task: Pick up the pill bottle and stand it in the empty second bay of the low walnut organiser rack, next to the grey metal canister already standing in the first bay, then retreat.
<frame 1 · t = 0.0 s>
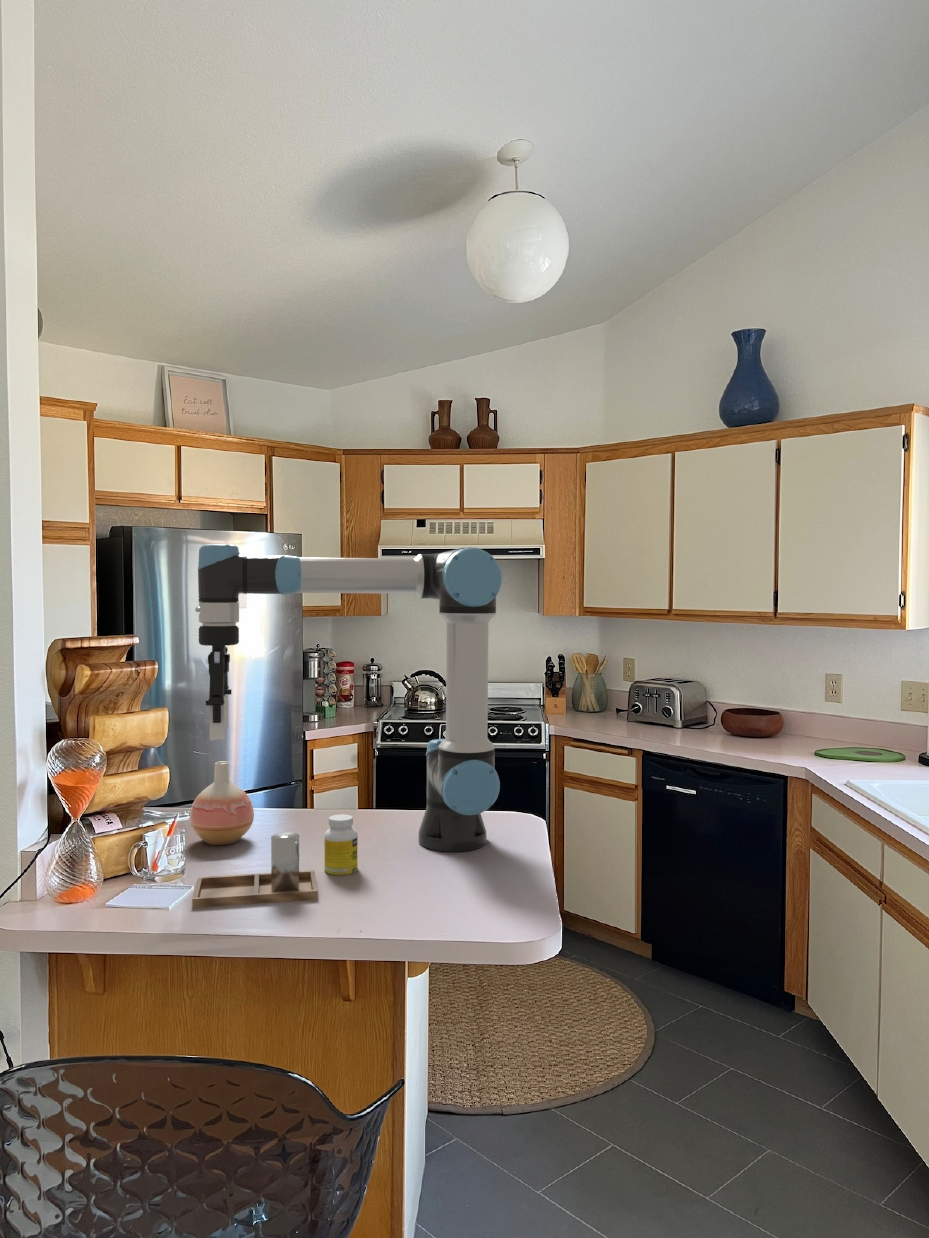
hand: (219, 733, 172), 28 cm above the countertop, fingers open, 13 cm apart
pill bottle: (340, 876, 174), on the countertop
vase: (222, 842, 196), on the countertop
canister: (285, 889, 162), point 1 cm above the countertop, touching rack
rack: (256, 898, 161), on the countertop
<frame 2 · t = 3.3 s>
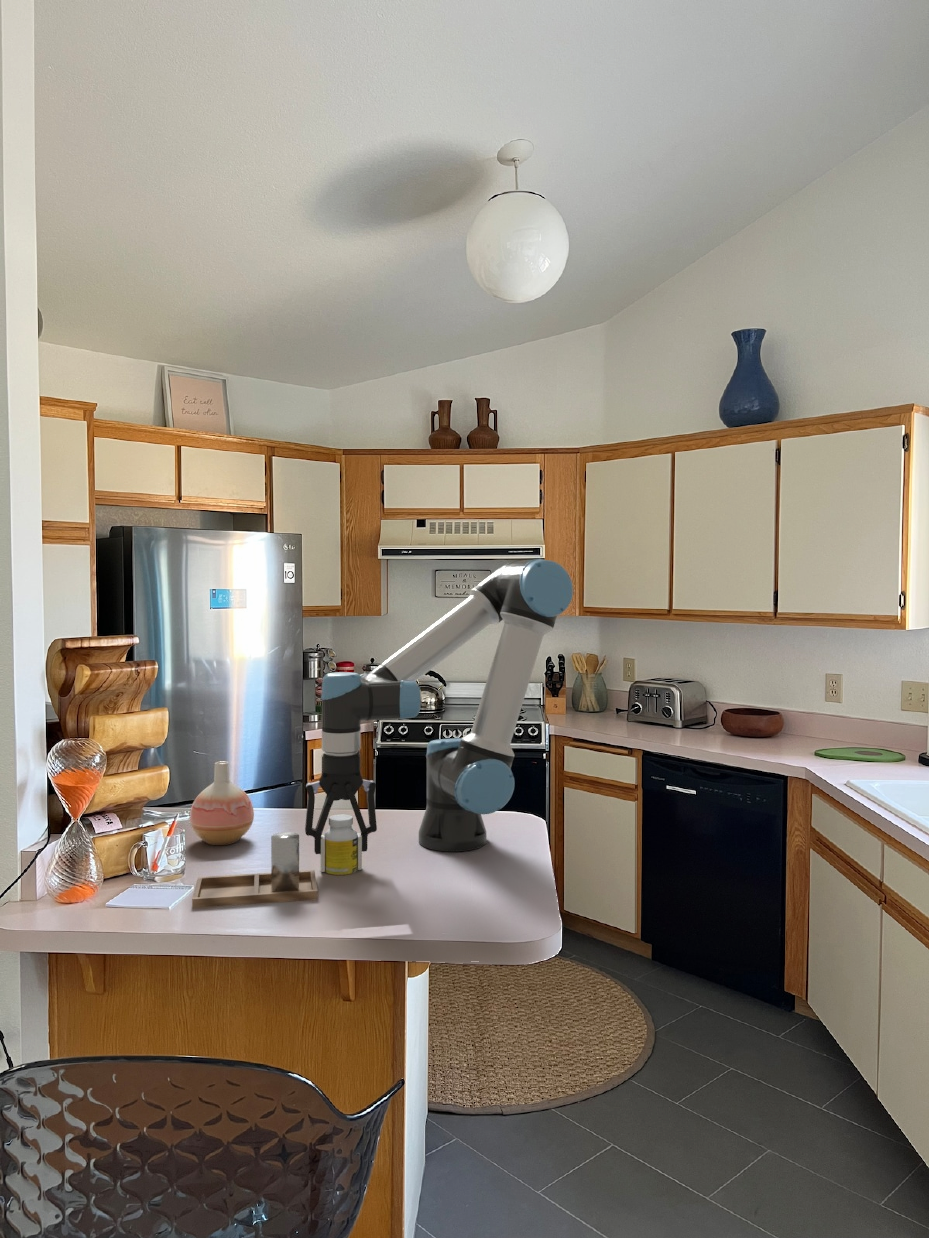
hand: (340, 868, 174), 1 cm above the countertop, fingers closed on pill bottle, 6 cm apart
pill bottle: (340, 876, 174), on the countertop, touching gripper
everything else where it was.
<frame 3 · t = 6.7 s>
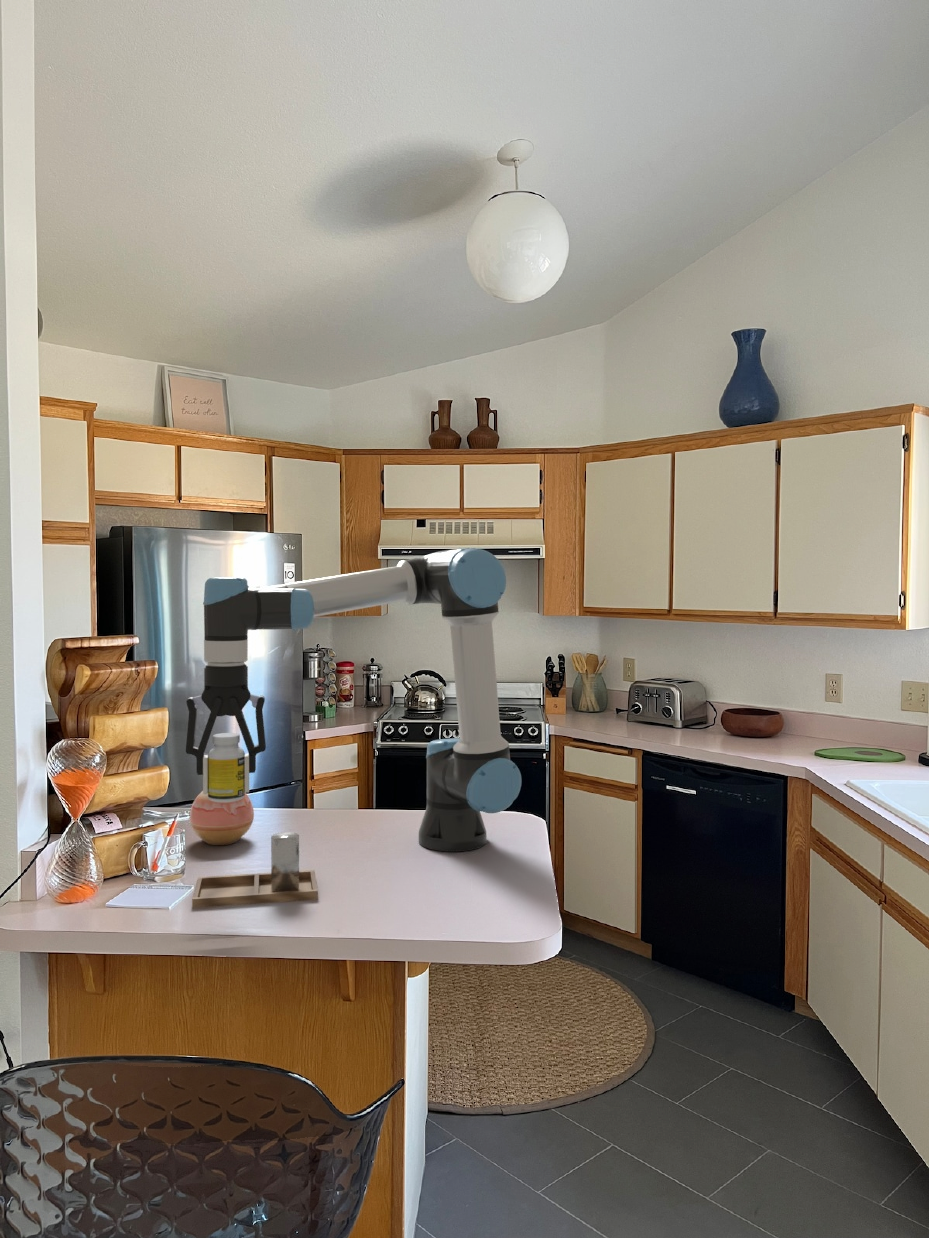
hand: (226, 791, 159), 20 cm above the countertop, fingers closed on pill bottle, 6 cm apart
pill bottle: (226, 800, 159), point 18 cm above the countertop, touching gripper
everything else where it was.
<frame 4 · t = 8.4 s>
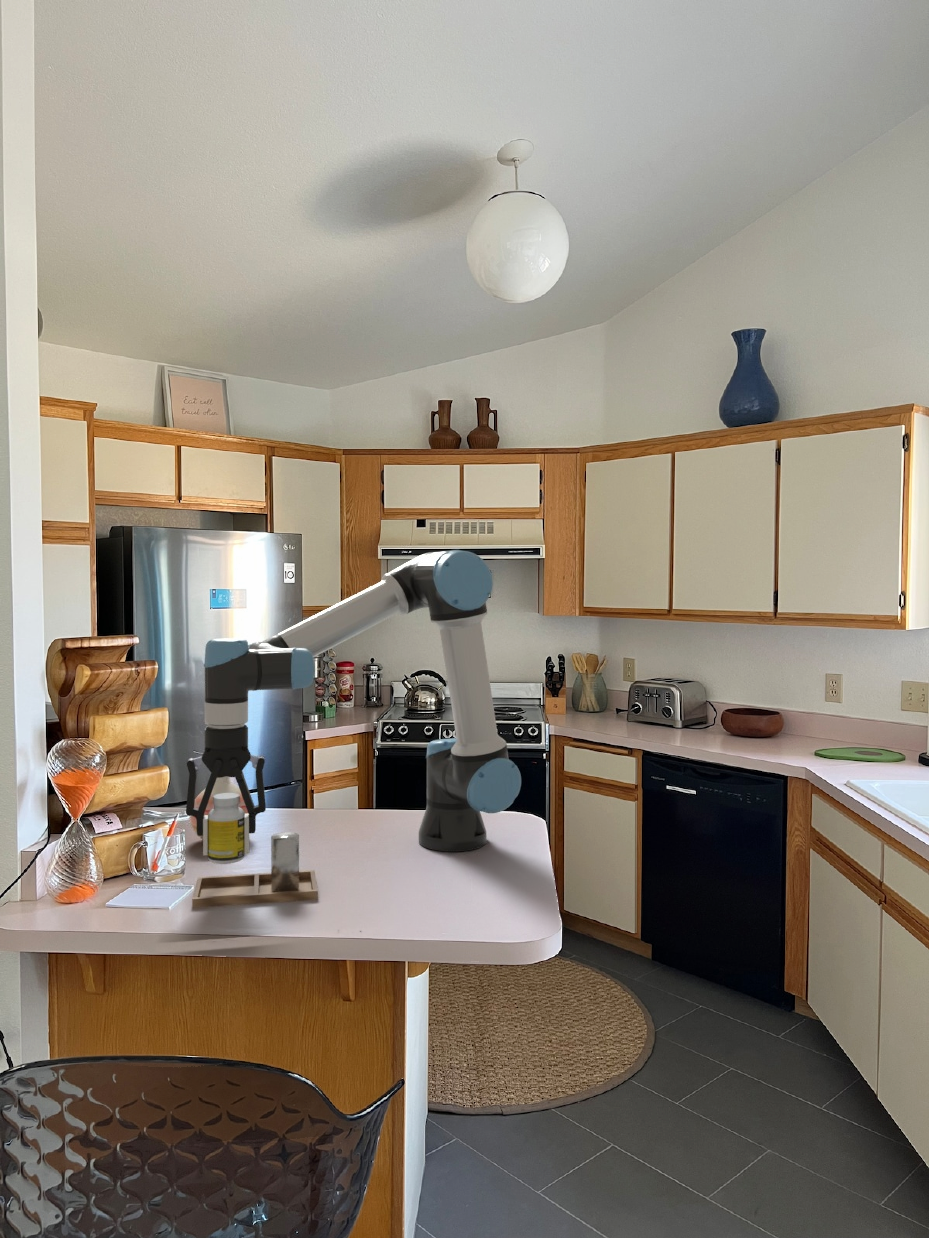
hand: (226, 851, 160), 9 cm above the countertop, fingers closed on pill bottle, 6 cm apart
pill bottle: (226, 860, 160), point 7 cm above the countertop, touching gripper
everything else where it was.
when the fingers open (4 cm above the countertop, at t = 9.8 s): pill bottle drops 1 cm, resting on rack.
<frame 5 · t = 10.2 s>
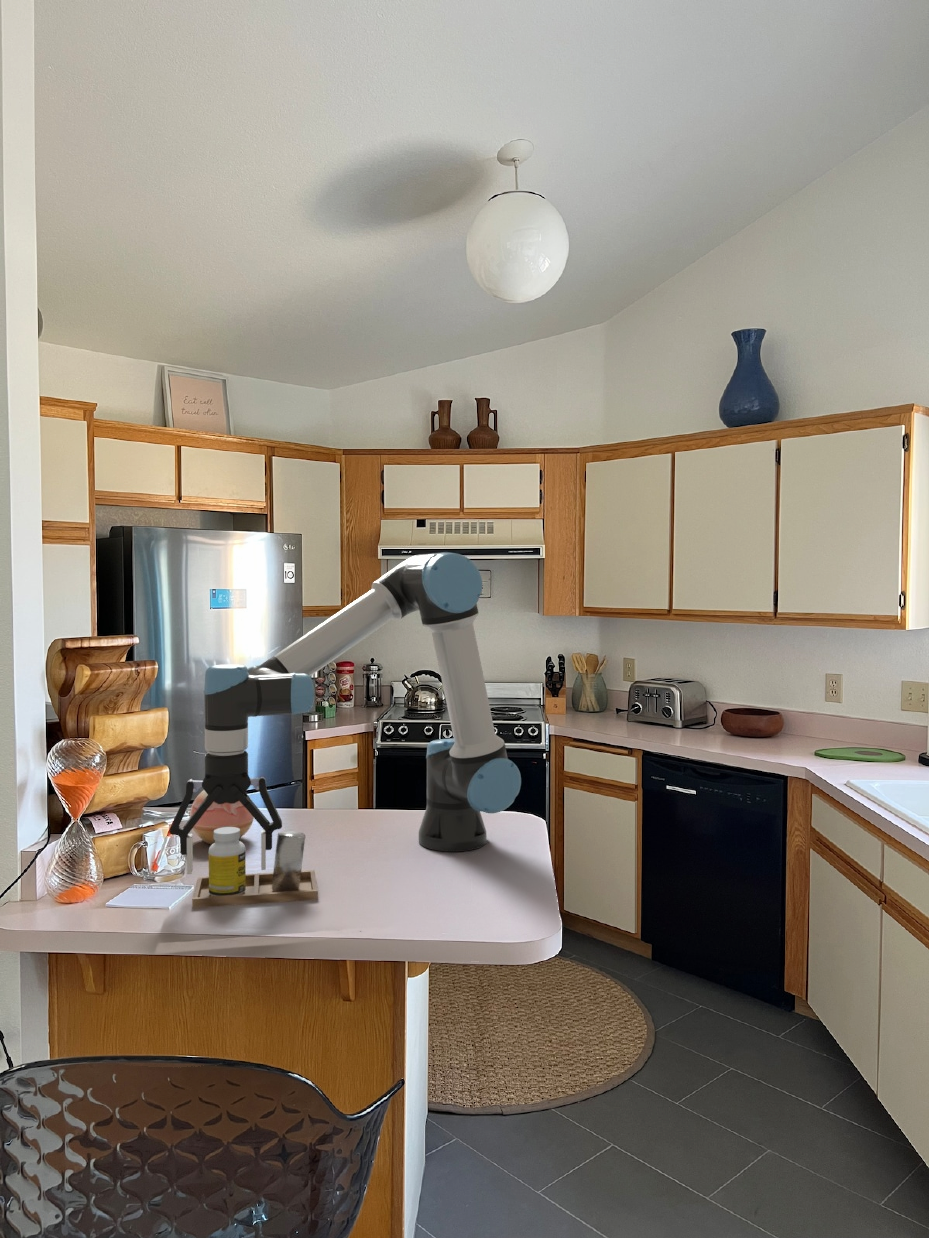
hand: (227, 869, 160), 6 cm above the countertop, fingers open, 12 cm apart
pill bottle: (227, 894, 160), point 1 cm above the countertop, touching rack
canister: (285, 888, 162), point 1 cm above the countertop, tilted 7°, touching gripper, rack
everything else where it was.
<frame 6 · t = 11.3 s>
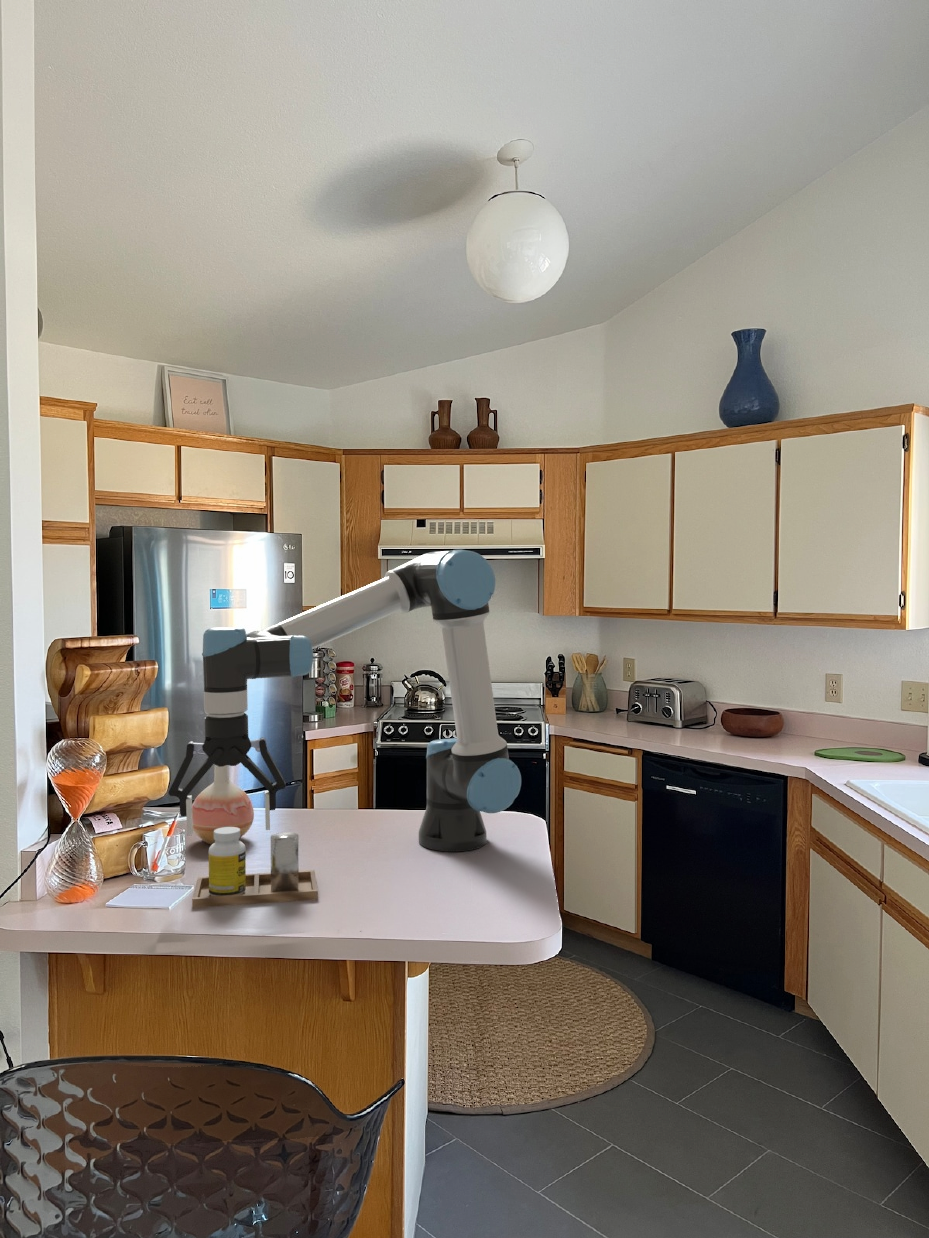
hand: (229, 830, 160), 13 cm above the countertop, fingers open, 13 cm apart
canister: (284, 890, 162), point 1 cm above the countertop, touching rack
everything else where it was.
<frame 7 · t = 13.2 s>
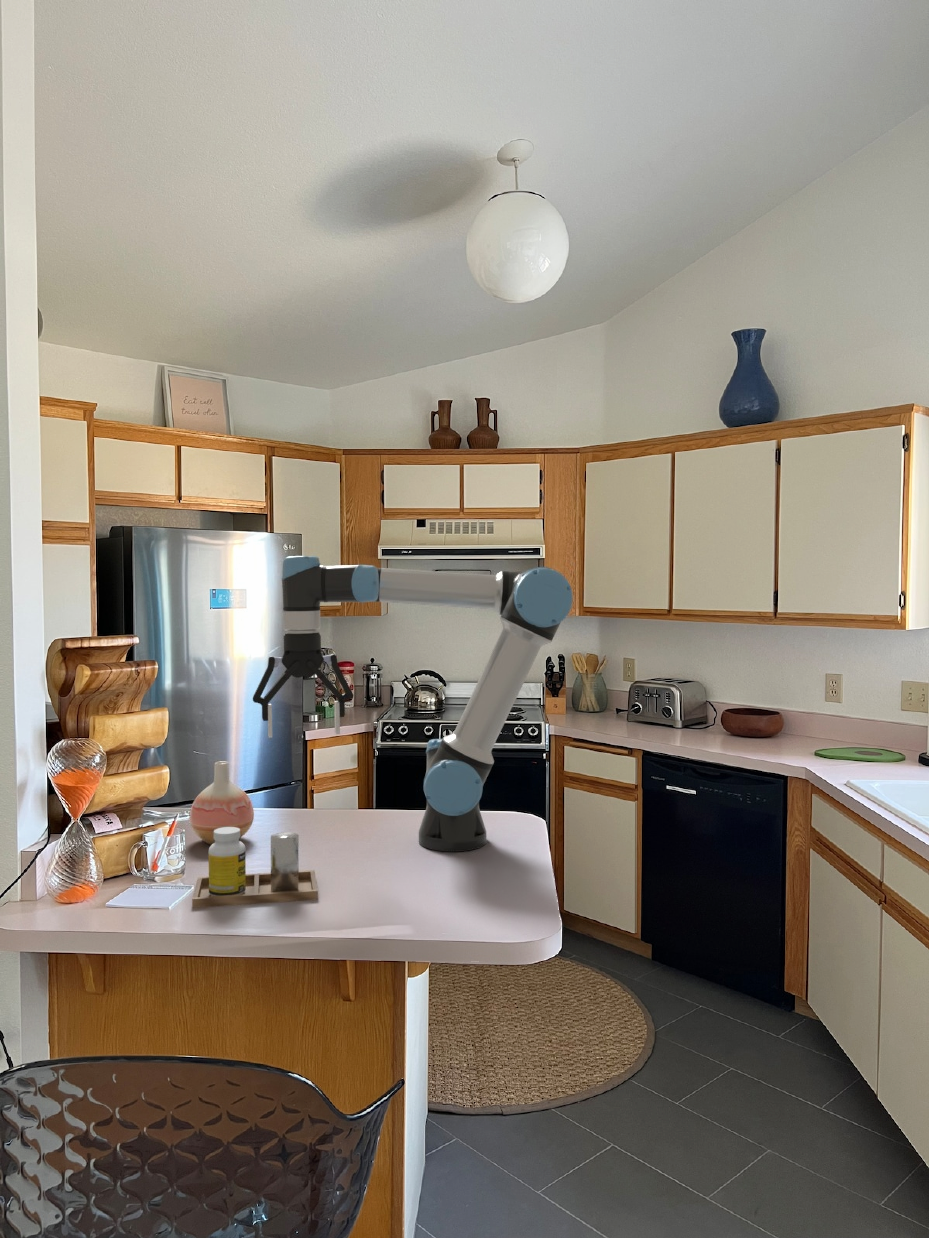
hand: (304, 734, 182), 26 cm above the countertop, fingers open, 13 cm apart
nothing on the countertop moved.
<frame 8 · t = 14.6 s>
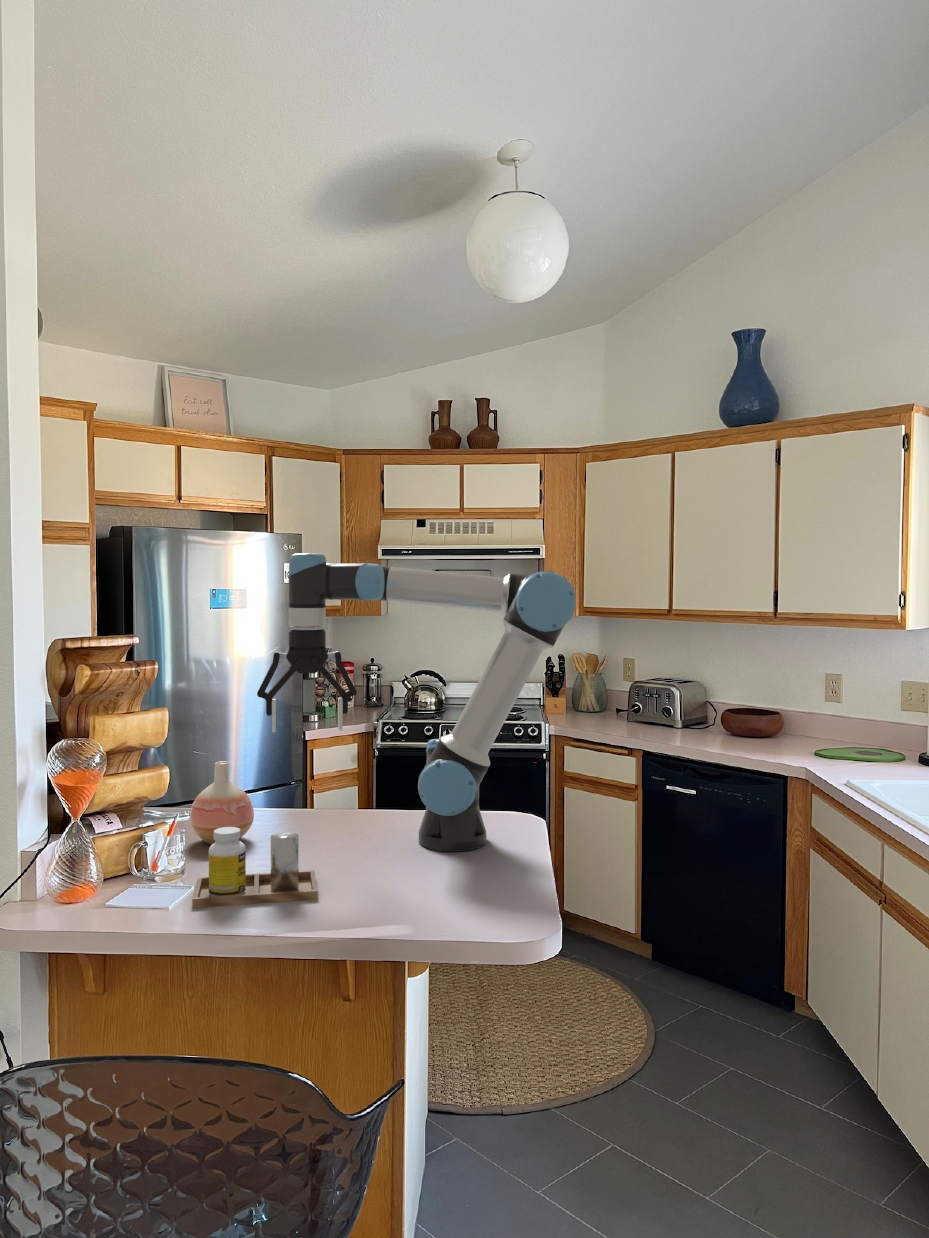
hand: (307, 730, 184), 27 cm above the countertop, fingers open, 13 cm apart
nothing on the countertop moved.
at the end: pill bottle inside the target area on the rack (0.2 cm from its centre), point 1.0 cm above the rack's base; pill bottle tilted 0°; the gripper is holding nothing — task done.
